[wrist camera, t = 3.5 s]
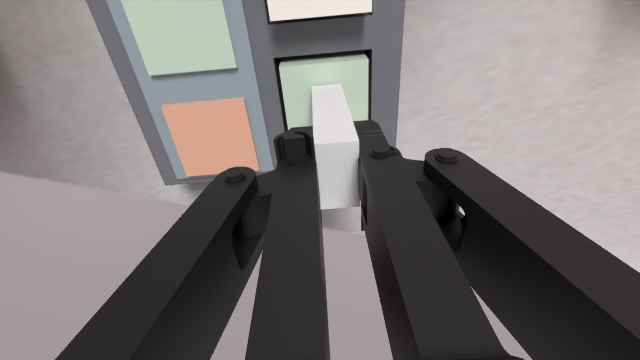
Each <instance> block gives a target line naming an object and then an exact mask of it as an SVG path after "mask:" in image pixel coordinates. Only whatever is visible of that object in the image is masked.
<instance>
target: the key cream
mask: <svg viewBox="0 0 640 360" xmlns="http://www.w3.org/2000/svg"><path fill="white" fill-rule="evenodd" d="M267 3H268V10H269V17H270V21H279V20H290V19H301V18H312V17H322V16H333V15H344V14H355V13H366V12H372V0H267Z"/></svg>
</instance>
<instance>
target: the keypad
mask: <svg viewBox="0 0 640 360" xmlns="http://www.w3.org/2000/svg"><path fill="white" fill-rule="evenodd" d="M86 2H87V4H88V7H89V9H90V11H91V14H92V16H93V18H94V21H95V23H96V25H97V27H98V30H99V32H100V34H101V37H102V39H103V41H104V44H105V46H106V48H107V51H108V53H109V55H110V58H111V60H112V62H113V65H114V67H115V69H116V72H117V74H118V76H119V79H120V81H121V83H122V86H123V88H124V90H125V93H126V95H127V97H128V100H129V102H130V104H131V107H132V109H133V111H134V114H135V116H136V118H137V121H138V123H139V125H140V128H141V130H142V132H143V135H144V137H145V139H146V142H147V144H148V146H149V148H150V151H151V153H152V155H153V158H154V160H155V162H156V165H157V167H158V169H159V172H160V174H161V176H162V179H163V181H164V183H165V185H175V184H187V183H199V182H210V181H213V179H214V178H215V177H216V176H217V175H218V174H220V173H221V172H223V171H225V170H227V169H228V168H233V167H242V166H244V167H250V168H251V169H253V170H254V171H255V173H256V176H257V175H261V174H265V173H268V172H270V171H272V170H274V169H276V166H277V158H276V153H275V147H274V141H273V140H274V138H275V137H276V136H277V135H279V134H281V133H284V132H286V131H288V126H287V119H286V112H285V105H284V99H283V92H282V85H281V78H280V71H279V65H280V62H281V59H282V57H289V56H300V55H311V54H322V53H333V52H344V51H355V50H362V51H363V52H364V54H365V55H366V56H367V58H368V59H369V66H368V120H373V121H375V122H376V123H378V124H379V125H380V127H381V130H382V132H383V134H384V136H385V138H386V140H387V142H388V144H389V145H390V146H393V147H395V148H396V134H397V118H398V102H399V86H400V70H401V54H402V38H403V22H404V6H405V0H372V12H366V13H355V14H344V15H333V16H322V17H312V18H301V19H290V20H279V21H270V17H269V10H268V3H267V0H86Z"/></svg>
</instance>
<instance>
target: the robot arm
mask: <svg viewBox="0 0 640 360" xmlns="http://www.w3.org/2000/svg"><path fill="white" fill-rule="evenodd" d="M312 112H313V126H303V127H292V128H290V129H289V130H288V131H286V132H284V133H281V134H279V135H277V136H276V137H275V138H274V140H273V141H274V147H275V153H276V158H277V166H276V169H274V170H272V171H270V172H268V173H265V174H261V175H257V176H256V173H255V171H254V170H253V169H251V168H250V167H244V166H242V167H233V168H228V169H227V170H225V171H223V172H221V173H220V174H218V175H217V176H216V177H215V178H214V179H213V181H212V182H211V183H210V184H209V185H208V186H207V187H206V189H205V190H204V191H203V192H202V193H201V194H200V195H199V197H198V198H197V199H196V200H195V201H194V202H193V203H192V204H191V206H190V207H189V208H188V209H187V210H186V211H185V212H184V214H183V215H182V216H181V217H180V218H179V220H178V221H177V222H176V223H175V224H174V225H173V226H172V227H171V228H170V229H169V231H168V232H167V233H166V234H165V235H164V236H163V237H162V239H161V240H160V241H159V242H158V243H157V244H156V246H155V247H154V248H153V249H152V250H151V251H150V252H149V253H148V254H147V256H146V257H145V258H144V259H143V260H142V261H141V262H140V264H139V265H138V266H137V267H136V268H135V269H134V270H133V272H132V273H131V274H130V275H129V276H128V277H127V278H126V280H125V281H124V282H123V283H122V284H121V285H120V286H119V287H118V289H117V290H116V291H115V292H114V293H113V294H112V295H111V297H110V298H109V299H108V300H107V301H106V302H105V303H104V305H103V306H102V307H101V308H100V309H99V310H98V312H97V313H96V314H95V315H94V316H93V317H92V318H91V319H90V320H89V322H88V323H87V324H86V325H85V326H84V327H83V328H82V330H81V331H80V332H79V333H78V334H77V335H76V336H75V337H74V339H73V340H72V341H71V342H70V343H69V344H68V346H67V347H66V348H65V349H64V350H63V351H62V352H61V353H60V355H59V356H58V357H57V358H56V359H55V360H210V358H211V355H212V354H213V352H214V350H215V348H216V346H217V344H218V342H219V339H220V337H221V336H222V333H223V331H224V329H225V327H226V325H227V323H228V321H229V319H230V317H231V315H232V313H233V311H234V309H235V306H236V304H237V302H238V300H239V298H240V296H241V294H242V292H243V290H244V288H245V285H246V283H247V282H248V279H249V277H250V275H251V273H252V271H253V269H254V267H255V265H256V263H257V261H258V258H259V257H260V254H261V252H262V250H263V252H262V259H261V264H260V270H259V277H258V283H257V289H256V295H255V302H254V307H253V313H252V320H251V326H250V332H249V338H248V344H247V350H246V356H245V360H330V349H329V332H328V316H327V298H326V282H325V266H324V249H323V234H322V217H321V210H322V209H334V208H346V207H359V206H360V200H361V231H364V230H365V234H366V239H367V243H368V248H369V251H370V257H371V261H372V265H373V270H374V275H375V279H376V284H377V288H378V293H379V297H380V302H381V306H382V311H383V315H384V320H385V325H386V329H387V333H388V338H389V343H390V347H391V352H392V356H393V360H524V359H522V358H519V357H515V356H511V355H509V354H508V353H507V352H506V351H505V350H504V348H503V347H502V345H501V343H500V341H499V340H498V338H497V336H496V334H495V332H494V330H493V328H492V326H491V324H490V323H489V320H488V319H487V317H486V315H485V313H484V311H483V309H482V307H481V305H480V303H479V301H478V300H477V298H476V296H475V294H474V292H473V290H472V288H473V289H474V291H475V292H476V293H477V294H478V295H479V296H480V298H481V299H482V300H483V301H484V302H485V304H486V305H487V306H488V307H489V308H490V310H491V311H492V312H493V313H494V314H495V315H496V317H497V318H498V319H499V320H500V322H501V323H502V324H503V325H504V326H505V327H506V329H507V330H508V331H509V332H510V333H511V334H512V336H513V337H514V338H515V339H516V340H517V342H518V343H519V344H520V345H521V347H522V348H523V349H524V350H525V351H526V352H527V354H528V355H529V356H530V357H531V358H532V359H533V360H640V273H639V272H638V271H636V270H635V269H633V268H632V267H630V266H629V265H627V264H626V263H624V262H623V261H621V260H620V259H618V258H617V257H615V256H614V255H613V254H611V253H610V252H608V251H607V250H605V249H604V248H602V247H601V246H599V245H598V244H596V243H595V242H593V241H592V240H591V239H589V238H588V237H586V236H585V235H583V234H582V233H580V232H579V231H577V230H576V229H574V228H573V227H571V226H570V225H568V224H567V223H566V222H564V221H563V220H561V219H560V218H558V217H557V216H555V215H554V214H552V213H551V212H549V211H548V210H546V209H545V208H543V207H542V206H541V205H539V204H538V203H536V202H535V201H533V200H532V199H530V198H529V197H527V196H526V195H524V194H523V193H521V192H520V191H518V190H517V189H516V188H514V187H513V186H511V185H510V184H508V183H507V182H505V181H504V180H502V179H501V178H499V177H498V176H496V175H495V174H493V173H492V172H491V171H489V170H488V169H486V168H485V167H483V166H482V165H480V164H479V163H477V162H476V161H474V160H473V159H471V158H470V157H468V156H467V155H466V154H464V153H462V152H460V151H457V150H453V149H451V148H447V149H446V148H440V149H433V150H431V151H428V152H427V153H426V154H425V161H419V160H410V159H405V158H403V157H402V155H401V153H400V151H399V150H398V149H397V148H395V147H393V146H390V145H389V144H388V142H387V140H386V138H385V136H384V134H383V132H382V130H381V127H380V125H379V124H378V123H376V122H375V121H373V120H362V121H353V120H352V117H351V113H350V110H349V107H348V104H347V101H346V98H345V94H344V91H343V88H342V85H341V84H333V85H322V86H312ZM459 207H461V208H462V209H463V210H464V212H465V216H464V215H463V214H462V213H461V212H460V211H459ZM471 287H472V288H471Z"/></svg>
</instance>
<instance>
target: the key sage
mask: <svg viewBox="0 0 640 360" xmlns="http://www.w3.org/2000/svg"><path fill="white" fill-rule="evenodd" d="M368 66H369V59H368V58H367V56H366V55H365V54H364V52H363V51H362V50H355V51H344V52H333V53H322V54H311V55H300V56H289V57H282V59H281V62H280V65H279V71H280V78H281V85H282V92H283V99H284V105H285V112H286V119H287V126H288V130H289V129H290V128H292V127H303V126H313V112H312V86H322V85H333V84H341V85H342V88H343V91H344V94H345V98H346V101H347V104H348V107H349V110H350V113H351V117H352V120H353V121H362V120H368Z"/></svg>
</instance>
